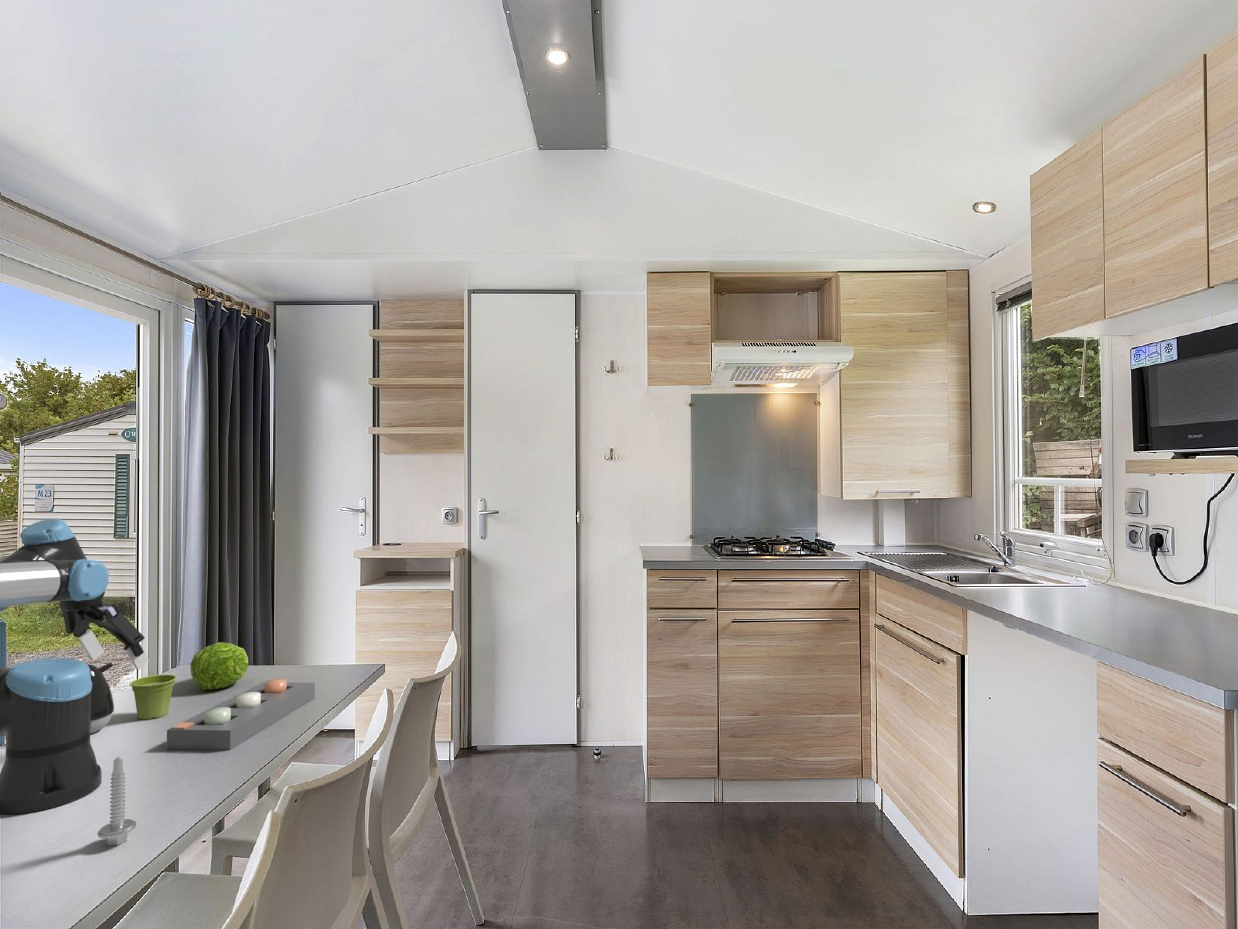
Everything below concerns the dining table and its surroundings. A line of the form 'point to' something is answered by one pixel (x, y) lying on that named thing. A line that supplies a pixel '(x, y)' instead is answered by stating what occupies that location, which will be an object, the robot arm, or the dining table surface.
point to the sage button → (217, 716)
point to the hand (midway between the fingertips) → (120, 660)
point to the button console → (239, 719)
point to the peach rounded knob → (275, 686)
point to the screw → (117, 809)
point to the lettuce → (218, 666)
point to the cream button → (248, 700)
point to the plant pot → (153, 695)
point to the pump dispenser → (100, 698)
